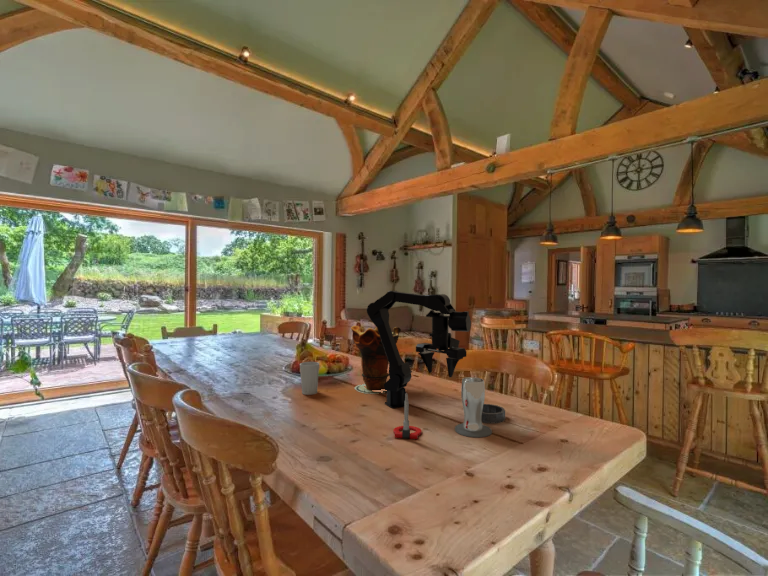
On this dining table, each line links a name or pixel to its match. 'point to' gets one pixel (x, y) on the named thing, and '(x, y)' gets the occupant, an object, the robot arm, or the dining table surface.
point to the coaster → (484, 433)
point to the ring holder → (493, 414)
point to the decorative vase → (372, 358)
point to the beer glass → (473, 403)
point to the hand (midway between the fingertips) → (440, 374)
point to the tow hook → (406, 425)
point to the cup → (309, 377)
